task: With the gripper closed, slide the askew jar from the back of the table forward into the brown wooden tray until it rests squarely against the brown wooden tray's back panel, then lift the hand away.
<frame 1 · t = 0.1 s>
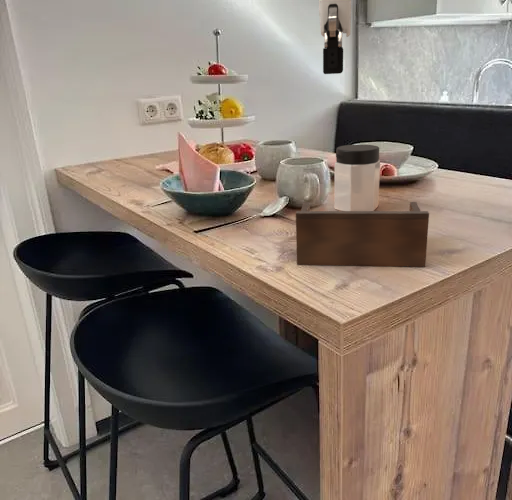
hand: (333, 73, 88), 26 cm above the table, tool pointing down, fingers open, 9 cm apart
brown wooden tray: (359, 265, 71), on the table
jar: (356, 208, 100), on the table
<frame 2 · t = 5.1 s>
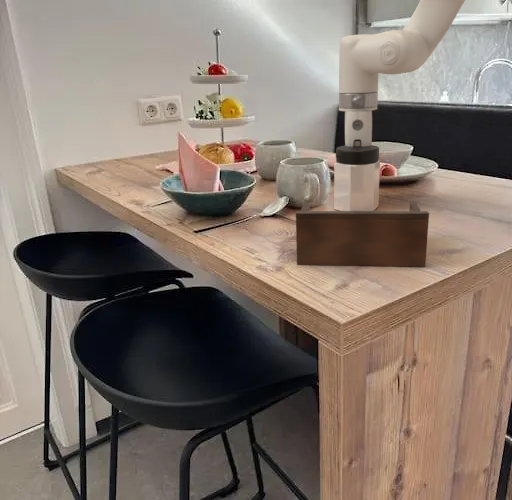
hand: (356, 192, 105), 2 cm above the table, tool pointing down, fingers closed
jar: (356, 209, 100), on the table, touching gripper
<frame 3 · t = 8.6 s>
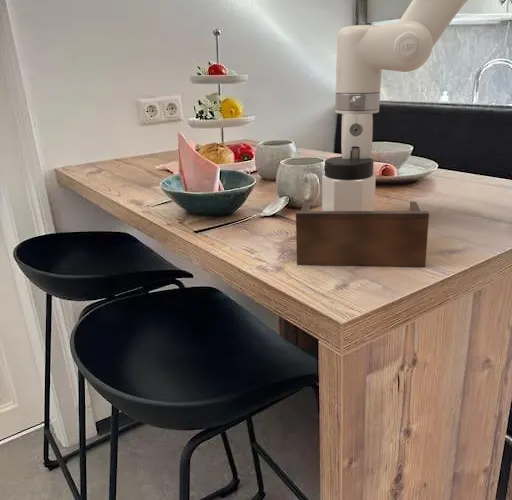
hand: (352, 206, 93), 2 cm above the table, tool pointing down, fingers closed
jar: (347, 228, 88), on the table, touching gripper
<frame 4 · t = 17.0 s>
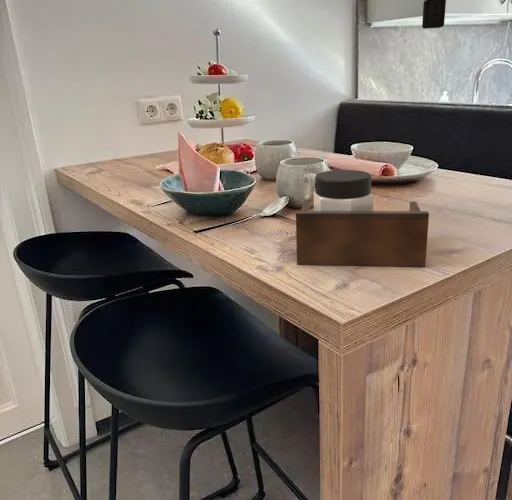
hand: (432, 27, 82), 32 cm above the table, tool pointing down, fingers closed
jar: (342, 253, 77), on the table, touching brown wooden tray
at the end: jar inside the target area on the brown wooden tray (2.5 cm from its centre), point 0.0 cm above the brown wooden tray's base; jar tilted 0°; jar moved 25.6 cm from its start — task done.
